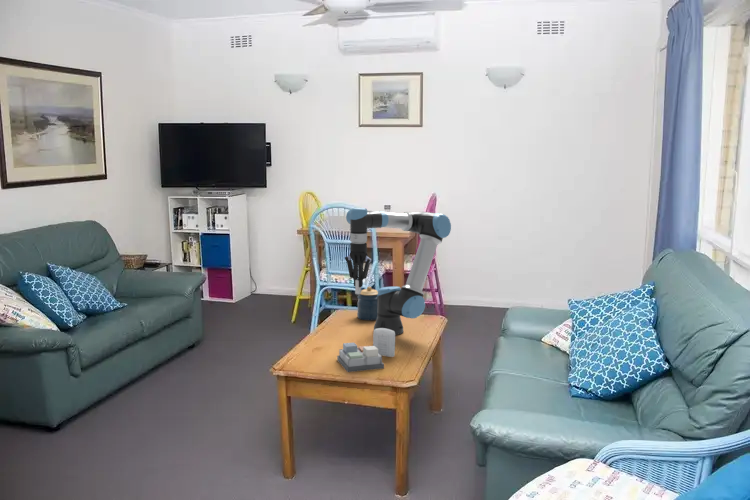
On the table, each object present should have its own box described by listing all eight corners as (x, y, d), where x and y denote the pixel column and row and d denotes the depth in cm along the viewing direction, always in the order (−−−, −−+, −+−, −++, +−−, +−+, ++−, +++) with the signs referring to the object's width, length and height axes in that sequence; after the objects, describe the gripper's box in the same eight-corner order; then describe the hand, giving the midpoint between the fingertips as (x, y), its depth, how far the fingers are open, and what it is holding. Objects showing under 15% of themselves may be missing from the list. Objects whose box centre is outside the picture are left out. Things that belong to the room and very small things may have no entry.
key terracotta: (369, 353, 274) (369, 345, 273) (372, 356, 269) (372, 348, 269) (358, 354, 272) (358, 346, 272) (361, 357, 268) (361, 349, 267)
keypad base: (371, 356, 277) (372, 346, 276) (383, 368, 262) (384, 357, 261) (337, 360, 272) (337, 349, 271) (347, 372, 257) (347, 360, 256)
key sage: (358, 359, 265) (358, 351, 265) (362, 363, 260) (362, 355, 260) (347, 360, 264) (347, 352, 263) (350, 364, 259) (350, 356, 258)
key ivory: (374, 353, 267) (374, 345, 267) (378, 357, 262) (378, 349, 262) (363, 354, 265) (363, 346, 265) (366, 358, 261) (366, 350, 260)
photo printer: (396, 355, 280) (396, 328, 278) (392, 357, 276) (393, 330, 274) (374, 352, 284) (375, 325, 282) (371, 354, 280) (371, 328, 278)
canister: (385, 317, 345) (385, 286, 342) (370, 322, 335) (370, 290, 332) (367, 313, 353) (367, 283, 350) (352, 317, 343) (352, 286, 340)
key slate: (354, 350, 271) (354, 342, 271) (357, 353, 267) (357, 345, 266) (343, 351, 270) (343, 343, 269) (346, 354, 265) (346, 346, 265)
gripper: (341, 242, 279) (341, 293, 283) (367, 244, 273) (367, 296, 277) (349, 240, 286) (349, 290, 289) (375, 242, 280) (374, 293, 284)
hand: (358, 293), depth 283 cm, fingers closed
